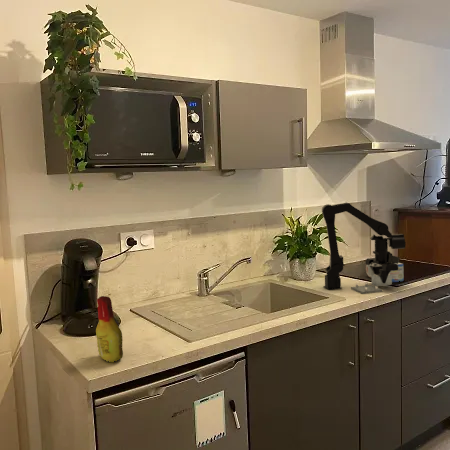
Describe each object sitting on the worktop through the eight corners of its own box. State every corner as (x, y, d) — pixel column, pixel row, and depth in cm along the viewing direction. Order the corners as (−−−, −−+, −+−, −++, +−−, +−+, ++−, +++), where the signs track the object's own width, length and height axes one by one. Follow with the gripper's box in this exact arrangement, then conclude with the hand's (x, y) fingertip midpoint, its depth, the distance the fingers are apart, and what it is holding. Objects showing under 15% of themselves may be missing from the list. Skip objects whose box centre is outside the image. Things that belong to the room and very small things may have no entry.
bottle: (92, 356, 149) (87, 295, 147) (111, 351, 153) (106, 291, 151) (108, 367, 139) (103, 301, 137) (128, 361, 143) (123, 297, 141)
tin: (390, 281, 229) (390, 264, 228) (385, 282, 228) (385, 265, 227) (368, 276, 243) (368, 260, 242) (364, 276, 241) (363, 260, 241)
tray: (362, 293, 208) (362, 288, 208) (351, 289, 218) (351, 283, 218) (382, 291, 210) (382, 286, 210) (370, 286, 220) (370, 281, 220)
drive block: (376, 286, 215) (376, 275, 215) (371, 284, 219) (371, 273, 218) (391, 284, 217) (391, 274, 216) (386, 282, 221) (386, 272, 220)
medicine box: (389, 282, 226) (389, 265, 225) (384, 281, 230) (383, 263, 229) (403, 281, 227) (403, 263, 227) (398, 279, 232) (398, 262, 231)
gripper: (408, 250, 209) (409, 284, 211) (385, 245, 227) (385, 276, 229) (386, 252, 206) (386, 287, 208) (364, 247, 225) (365, 278, 226)
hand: (381, 282), depth 218 cm, fingers closed on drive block, 4 cm apart
